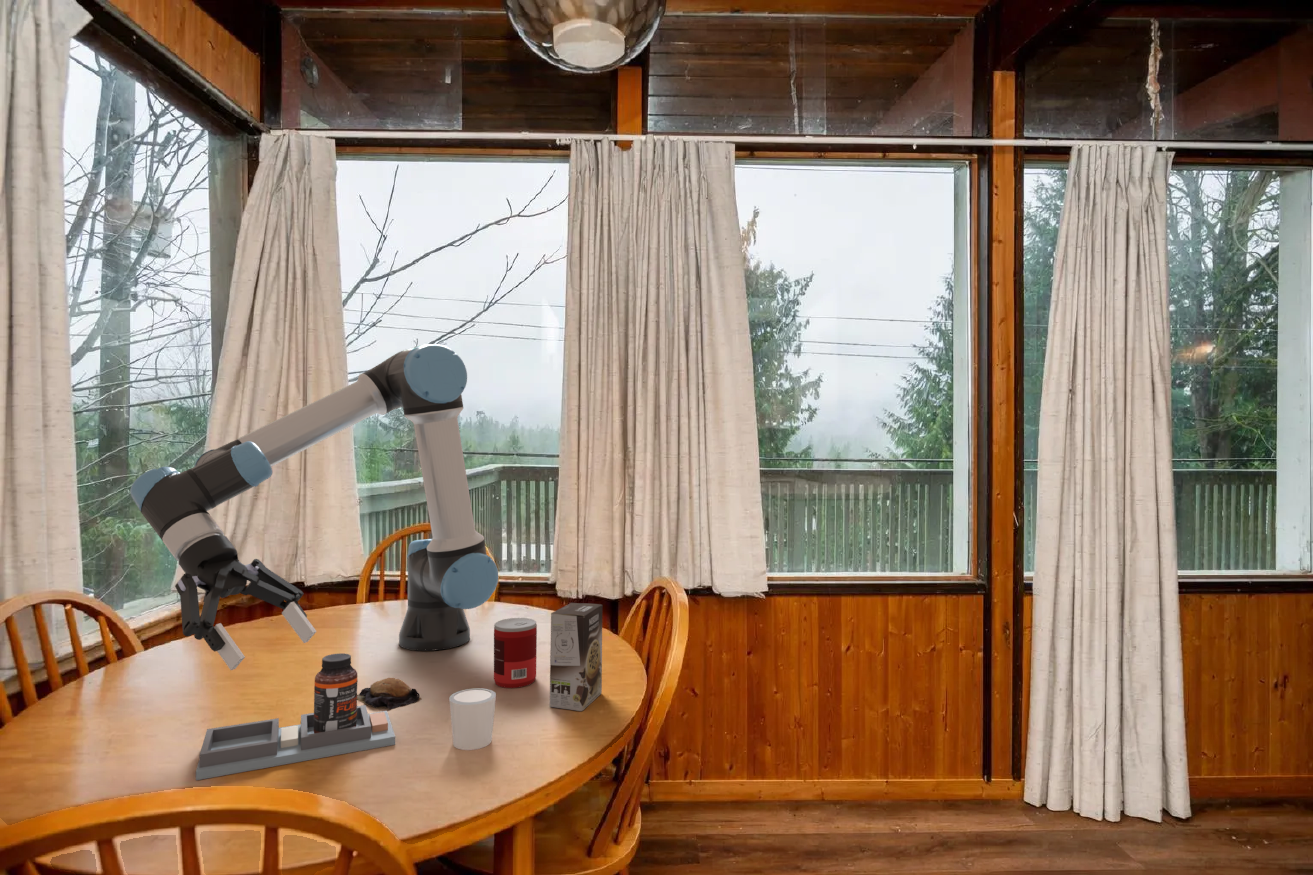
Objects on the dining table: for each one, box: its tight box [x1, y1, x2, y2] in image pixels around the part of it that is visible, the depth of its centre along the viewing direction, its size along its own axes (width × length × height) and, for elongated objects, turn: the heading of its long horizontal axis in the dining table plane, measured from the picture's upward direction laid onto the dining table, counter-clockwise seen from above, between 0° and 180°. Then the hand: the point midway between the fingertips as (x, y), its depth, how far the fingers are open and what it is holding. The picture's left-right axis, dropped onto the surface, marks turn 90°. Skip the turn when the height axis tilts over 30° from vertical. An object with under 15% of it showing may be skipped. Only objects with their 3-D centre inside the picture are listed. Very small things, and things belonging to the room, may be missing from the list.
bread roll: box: [357, 677, 422, 711], centre depth 124 cm, size 11×8×4 cm
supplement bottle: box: [313, 652, 358, 733], centre depth 107 cm, size 6×6×11 cm
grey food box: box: [549, 602, 603, 712], centre depth 124 cm, size 9×6×16 cm
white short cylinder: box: [448, 687, 497, 751], centre depth 106 cm, size 7×7×7 cm
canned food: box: [493, 617, 538, 689], centre depth 133 cm, size 8×8×11 cm
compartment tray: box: [195, 704, 396, 781], centre depth 104 cm, size 25×11×3 cm, turn 117°
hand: (276, 649), depth 110 cm, fingers open, 13 cm apart
